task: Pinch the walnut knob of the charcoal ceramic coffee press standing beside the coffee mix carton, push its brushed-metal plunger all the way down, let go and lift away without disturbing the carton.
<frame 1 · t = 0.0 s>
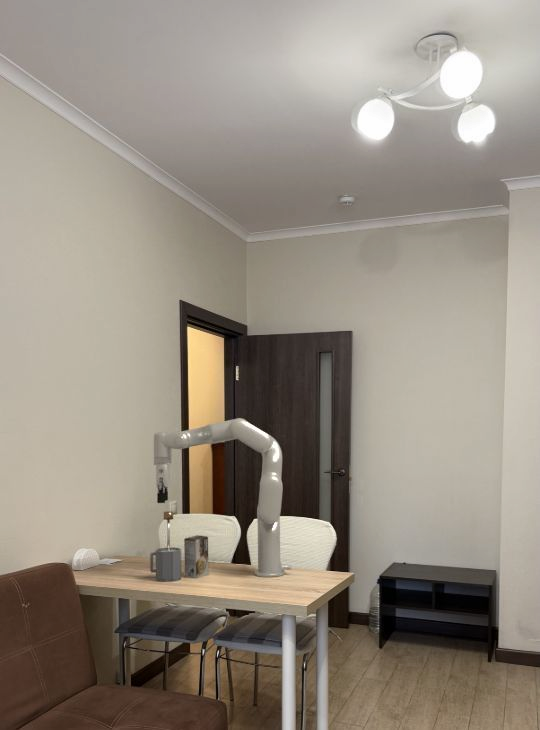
hand: (162, 501, 296), 31 cm above the table, fingers open, 9 cm apart
plunger: (168, 531, 290), point 19 cm above the table, slide at 0.0 cm
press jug: (168, 579, 288), on the table
coffee box: (196, 576, 293), on the table
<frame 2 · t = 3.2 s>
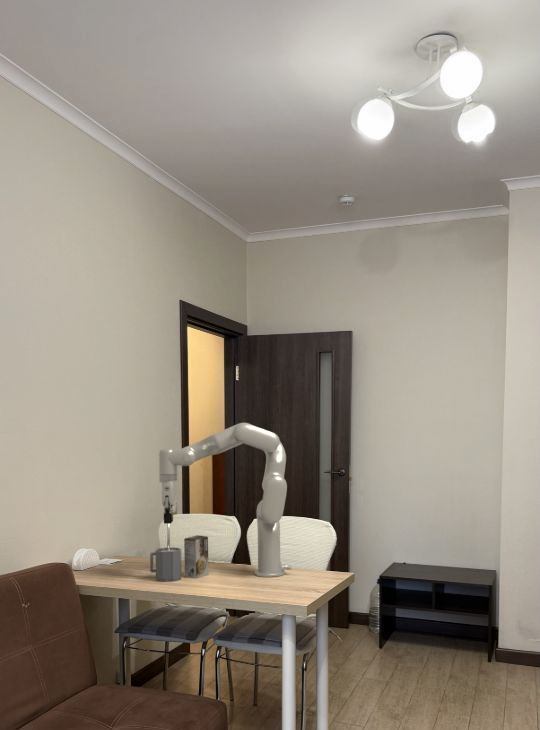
hand: (168, 522, 290), 23 cm above the table, fingers closed on plunger, 4 cm apart
plunger: (168, 531, 290), point 19 cm above the table, slide at 0.0 cm, touching gripper
everything else where it was.
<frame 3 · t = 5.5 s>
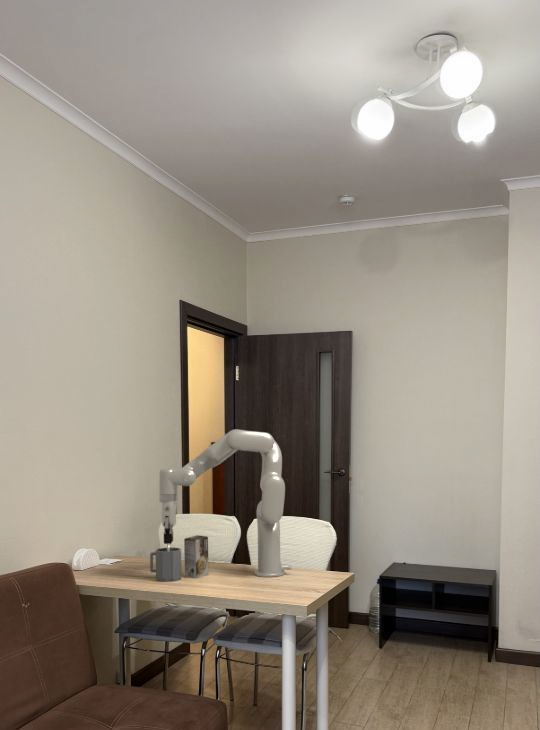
hand: (168, 542, 289), 15 cm above the table, fingers closed on plunger, 4 cm apart
plunger: (168, 552, 289), point 11 cm above the table, slide at 8.3 cm, touching gripper
everything else where it was.
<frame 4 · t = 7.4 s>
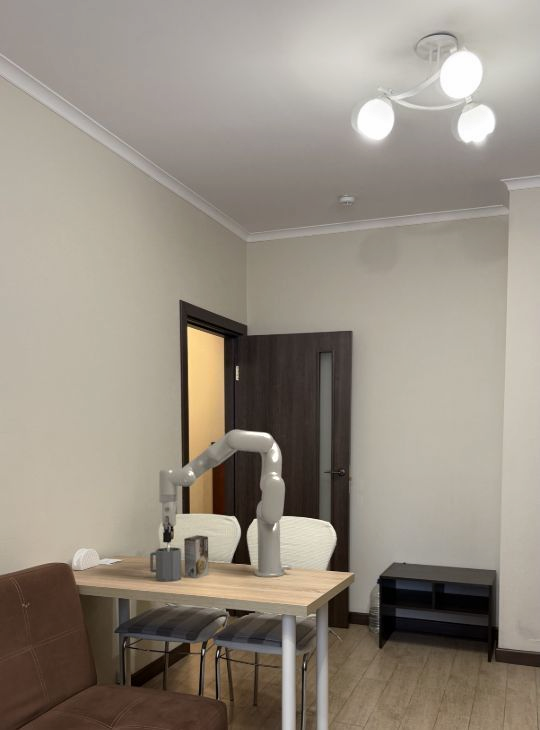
hand: (168, 540, 289), 16 cm above the table, fingers open, 9 cm apart
plunger: (168, 552, 289), point 11 cm above the table, slide at 8.2 cm
everything else where it was.
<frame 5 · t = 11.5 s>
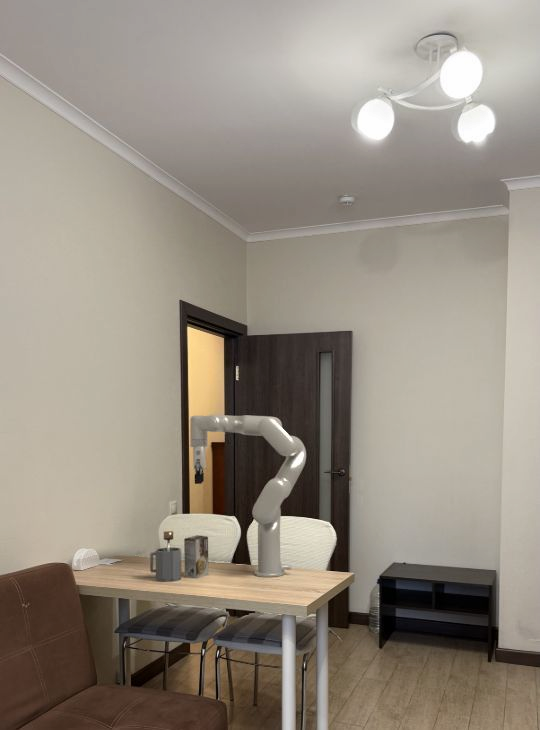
hand: (199, 482, 305), 38 cm above the table, fingers open, 9 cm apart
nothing on the table moved.
at the end: plunger slide at 8.2 cm; the gripper is holding nothing; coffee box moved 0.2 cm from its start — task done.
